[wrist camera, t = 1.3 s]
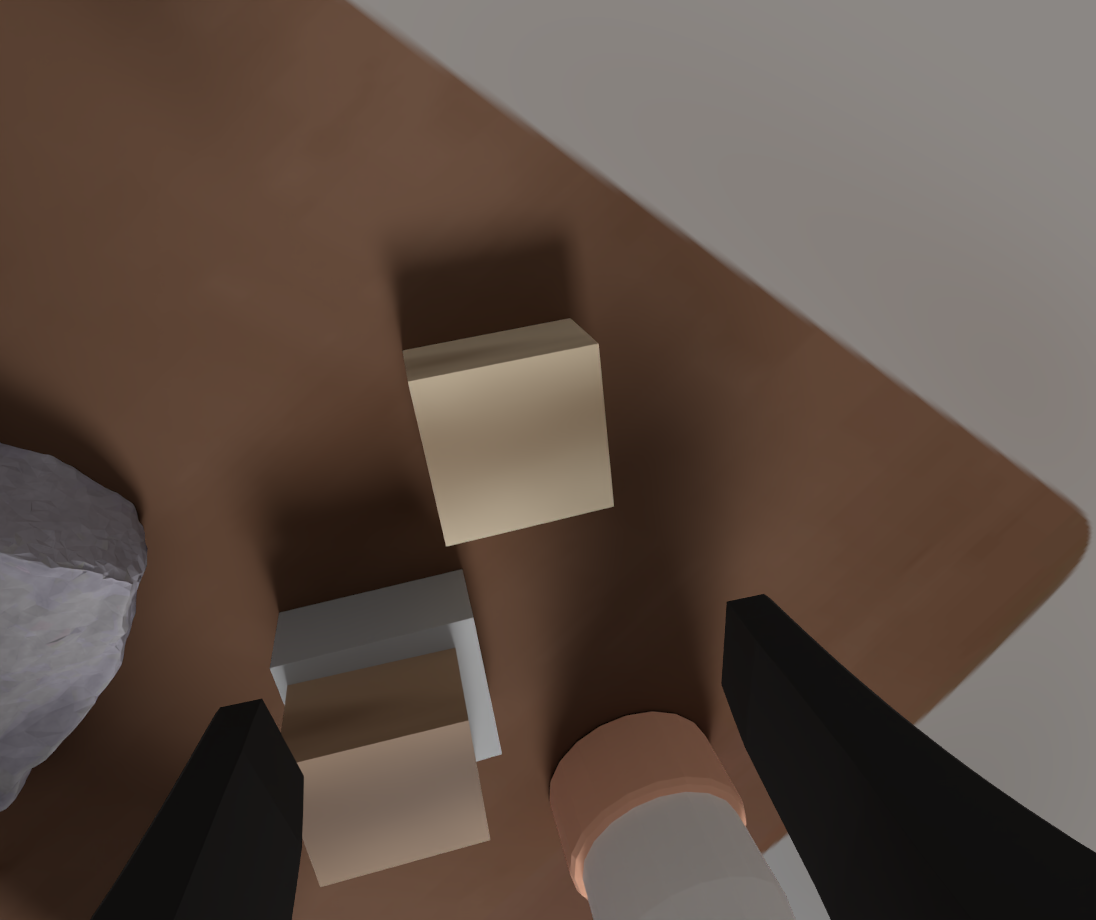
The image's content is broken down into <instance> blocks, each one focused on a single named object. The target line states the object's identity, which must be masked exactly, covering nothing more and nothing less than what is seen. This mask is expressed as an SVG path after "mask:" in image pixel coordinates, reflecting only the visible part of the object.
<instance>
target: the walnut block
mask: <svg viewBox="0 0 1096 920" xmlns="http://www.w3.org/2000/svg"><path fill="white" fill-rule="evenodd" d="M281 735H282V736H283V738H284V740H285V742H286V744H287V746H288V747H289V749H290V751H291V753H292V755H293V757H294V758H295V760H296V762H297V764H298V766H299V768H300V770H301V771H302V773H303V775H304V800H303V831H302V838H303V841H304V844H305V846H306V849H307V852H308V855H309V857H310V860H311V863H312V865H313V868H314V871H315V874H316V876H317V879H318V882H319V884H320V887H323V886H326V885H330V884H333V883H337V882H341V881H344V880H348V879H351V878H355V877H359V876H362V875H366V874H369V873H373V872H377V871H380V870H384V869H387V868H391V867H395V866H398V865H402V864H405V863H409V862H413V861H416V860H420V859H423V858H427V857H431V856H434V855H438V854H441V853H445V852H449V851H452V850H456V849H459V848H463V847H467V846H470V845H474V844H477V843H481V842H485V841H488V840H490V836H489V830H488V825H487V819H486V814H485V808H484V803H483V797H482V791H481V786H480V780H479V775H478V769H477V764H476V758H475V753H474V747H473V742H472V736H471V731H470V725H469V720H468V714H467V709H466V703H465V698H464V692H463V687H462V681H461V676H460V670H459V665H458V659H457V654H456V648H452V649H447V650H443V651H438V652H434V653H429V654H425V655H420V656H416V657H412V658H407V659H403V660H398V661H394V662H389V663H385V664H380V665H376V666H372V667H367V668H363V669H358V670H354V671H349V672H345V673H340V674H336V675H332V676H327V677H323V678H318V679H314V680H309V681H305V682H300V683H296V684H292V685H287V692H286V700H285V707H284V715H283V722H282V730H281Z"/></svg>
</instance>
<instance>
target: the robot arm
mask: <svg viewBox="0 0 1096 920" xmlns="http://www.w3.org/2000/svg"><path fill="white" fill-rule="evenodd" d="M722 687H723V690H724V693H725V695H726V698H727V701H728V704H729V706H730V709H731V712H732V715H733V717H734V720H735V723H736V725H737V728H738V730H739V733H740V736H741V738H742V741H743V743H744V746H745V748H746V750H747V752H748V754H749V756H750V758H751V760H752V762H753V764H754V766H755V768H756V770H757V772H758V774H759V776H760V778H761V780H762V782H763V784H764V786H765V788H766V790H767V792H768V794H769V796H770V798H771V800H772V802H773V804H774V806H775V808H776V810H777V812H778V814H779V816H780V818H781V820H782V822H783V824H784V826H785V828H786V830H787V832H788V834H789V835H790V837H791V839H792V841H793V843H794V845H795V847H796V849H797V851H798V853H799V855H800V857H801V859H802V861H803V863H804V865H805V867H806V869H807V871H808V873H809V875H810V877H811V879H812V881H813V883H814V884H815V887H816V889H817V891H818V893H819V895H820V897H821V900H822V902H823V904H824V906H825V908H826V910H827V913H828V915H829V917H830V919H831V920H1096V853H1095V852H1094V851H1092V850H1091V849H1089V848H1087V847H1085V846H1084V845H1082V844H1081V843H1079V842H1077V841H1076V840H1074V839H1073V838H1071V837H1070V836H1068V835H1067V834H1065V833H1064V832H1062V831H1061V830H1059V829H1058V828H1056V827H1054V826H1052V825H1051V824H1050V823H1048V822H1047V821H1045V820H1044V819H1042V818H1041V817H1039V816H1038V815H1036V814H1035V813H1033V812H1032V811H1030V810H1029V809H1027V808H1026V807H1024V806H1023V805H1021V804H1020V803H1018V802H1017V801H1015V800H1014V799H1013V798H1011V797H1010V796H1008V795H1007V794H1005V793H1004V792H1002V791H1001V790H1000V789H998V788H997V787H995V786H994V785H992V784H991V783H989V782H988V781H987V780H985V779H984V778H982V777H981V776H980V775H978V774H977V773H976V772H974V771H973V770H971V769H970V768H969V767H967V766H966V765H965V764H963V763H962V762H961V761H959V760H958V759H957V758H955V757H954V756H953V755H951V754H950V753H948V752H947V751H946V750H944V749H943V748H942V747H941V746H939V745H938V744H937V743H936V742H934V741H933V740H932V739H930V738H929V737H928V736H927V735H925V734H924V733H923V732H921V731H920V730H919V729H917V728H916V727H915V726H914V725H913V724H911V723H910V722H909V721H908V720H906V719H905V718H904V717H903V716H901V715H900V714H899V713H898V712H897V711H895V710H894V709H893V708H892V707H890V706H889V705H888V704H887V703H886V702H885V701H883V700H882V699H881V698H880V697H879V696H877V695H876V694H875V693H874V692H873V691H872V690H870V689H869V688H868V687H867V686H866V685H865V684H863V683H862V682H861V681H860V680H859V679H857V678H856V677H855V676H854V675H853V674H852V673H850V672H849V671H848V670H847V669H846V668H845V667H844V666H843V665H841V664H840V663H839V662H838V661H837V660H836V659H835V658H834V657H832V656H831V655H830V654H829V653H828V652H827V651H826V650H825V649H824V648H823V647H821V646H820V645H819V644H818V643H817V642H816V641H815V640H814V639H813V638H812V637H811V636H809V635H808V634H807V633H806V632H805V631H804V630H803V629H802V628H801V627H800V626H799V625H798V624H797V623H796V622H794V621H793V620H792V619H791V618H790V617H789V616H788V615H787V614H786V613H785V612H784V611H783V610H782V609H781V608H780V607H779V606H778V605H777V604H776V603H774V602H773V601H772V600H771V599H770V598H769V597H768V596H766V595H765V594H761V595H757V596H752V597H747V598H742V599H738V600H733V601H728V602H727V608H726V623H725V638H724V654H723V669H722ZM303 800H304V775H303V773H302V771H301V770H300V768H299V766H298V764H297V762H296V760H295V758H294V757H293V755H292V753H291V751H290V749H289V747H288V746H287V744H286V742H285V740H284V738H283V736H282V735H281V733H280V731H279V729H278V727H277V725H276V723H275V722H274V720H273V718H272V716H271V714H270V712H269V711H268V709H267V707H266V705H265V703H264V701H263V700H262V699H258V700H254V701H249V702H244V703H239V704H234V705H230V706H225V707H220V709H219V710H218V711H217V712H216V714H215V715H214V717H213V719H212V721H211V722H210V724H209V726H208V728H207V729H206V731H205V733H204V735H203V736H202V738H201V740H200V741H199V743H198V745H197V747H196V748H195V750H194V752H193V754H192V755H191V757H190V759H189V761H188V762H187V764H186V766H185V768H184V769H183V771H182V773H181V775H180V776H179V778H178V780H177V781H176V783H175V785H174V787H173V788H172V790H171V792H170V793H169V795H168V797H167V798H166V800H165V802H164V804H163V805H162V807H161V809H160V810H159V812H158V814H157V815H156V817H155V818H154V820H153V822H152V823H151V825H150V827H149V828H148V830H147V832H146V833H145V835H144V836H143V838H142V840H141V841H140V843H139V845H138V846H137V848H136V849H135V851H134V853H133V854H132V856H131V858H130V859H129V861H128V862H127V864H126V866H125V867H124V869H123V870H122V872H121V874H120V875H119V877H118V878H117V880H116V881H115V883H114V885H113V886H112V888H111V889H110V891H109V892H108V894H107V895H106V897H105V898H104V900H103V901H102V903H101V904H100V906H99V907H98V909H97V910H96V912H95V913H94V915H93V916H92V918H91V919H90V920H292V913H293V907H294V900H295V893H296V886H297V879H298V872H299V865H300V857H301V850H302V831H303Z"/></svg>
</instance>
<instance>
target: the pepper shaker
mask: <svg viewBox="0 0 1096 920" xmlns="http://www.w3.org/2000/svg"><path fill="white" fill-rule="evenodd" d="M549 801H550V805H551V809H552V812H553V816H554V819H555V823H556V826H557V830H558V833H559V837H560V840H561V844H562V848H563V851H564V855H565V858H566V862H567V865H568V869H569V872H570V875H571V877H572V880H573V882H574V884H575V886H576V889H577V891H578V892H579V893H580V894H581V895H582V896H584V897H585V898H586V899H588V901H589V905H590V908H591V912H592V916H593V920H795V917H794V915H793V912H792V909H791V907H790V904H789V902H788V899H787V896H786V895H785V893H784V891H783V890H782V888H781V886H780V885H779V883H778V881H777V879H776V878H775V876H774V874H773V873H772V871H771V869H770V868H769V866H768V864H767V863H766V861H765V859H764V858H763V856H762V854H761V852H760V851H759V849H758V847H757V846H756V844H755V842H754V840H753V839H752V837H751V835H750V834H749V832H748V830H747V829H746V816H745V811H744V806H743V801H742V799H741V797H740V796H739V794H738V792H737V790H736V789H735V787H734V785H733V783H732V781H731V780H730V778H729V776H728V774H727V773H726V771H725V769H724V767H723V766H722V764H721V762H720V760H719V759H718V757H717V755H716V753H715V752H714V750H713V748H712V746H711V745H710V743H709V741H708V739H707V738H706V736H705V735H704V734H703V732H702V731H701V730H700V729H699V728H698V727H697V725H696V724H695V723H694V722H692V721H690V720H688V719H686V718H683V717H681V716H679V715H677V714H672V713H663V712H653V711H651V712H645V713H639V714H633V715H627V716H624V717H621V718H619V719H616V720H614V721H611V722H609V723H606V724H604V725H602V726H599V727H598V728H596V729H595V730H594V731H592V732H591V733H589V734H588V735H586V736H585V737H583V738H582V739H581V740H579V741H578V742H576V744H575V745H574V746H573V747H572V748H571V749H570V750H569V752H568V753H567V754H566V755H565V756H564V757H563V758H562V759H561V761H560V762H559V764H558V766H557V768H556V771H555V773H554V775H553V777H552V779H551V781H550V797H549Z"/></svg>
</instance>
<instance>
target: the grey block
mask: <svg viewBox="0 0 1096 920" xmlns="http://www.w3.org/2000/svg"><path fill="white" fill-rule="evenodd" d="M452 648H456V654H457V659H458V665H459V670H460V676H461V681H462V687H463V692H464V698H465V703H466V709H467V714H468V720H469V725H470V731H471V736H472V742H473V747H474V753H475V758H476V761H479V760H483V759H487V758H490V757H494V756H497V755H501V754H502V752H501V747H500V742H499V738H498V733H497V728H496V723H495V718H494V714H493V709H492V704H491V699H490V694H489V690H488V685H487V680H486V675H485V671H484V666H483V661H482V656H481V651H480V647H479V642H478V637H477V632H476V627H475V623H474V618H473V614H472V609H471V605H470V600H469V596H468V592H467V587H466V583H465V579H464V574H463V570H462V569H461V570H457V571H452V572H448V573H444V574H440V575H436V576H431V577H427V578H423V579H419V580H415V581H410V582H406V583H402V584H398V585H394V586H389V587H385V588H381V589H377V590H373V591H368V592H364V593H360V594H356V595H352V596H347V597H343V598H339V599H335V600H331V601H326V602H322V603H318V604H314V605H310V606H305V607H301V608H297V609H293V610H289V611H284V612H280V613H279V617H278V623H277V629H276V635H275V641H274V647H273V652H272V658H271V664H270V670H271V672H272V675H273V677H274V680H275V682H276V685H277V688H278V690H279V693H280V695H281V698H282V700H283V703H284V705H285V700H286V692H287V685H292V684H296V683H300V682H305V681H309V680H314V679H318V678H323V677H327V676H332V675H336V674H340V673H345V672H349V671H354V670H358V669H363V668H367V667H372V666H376V665H380V664H385V663H389V662H394V661H398V660H403V659H407V658H412V657H416V656H420V655H425V654H429V653H434V652H438V651H443V650H447V649H452Z"/></svg>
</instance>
